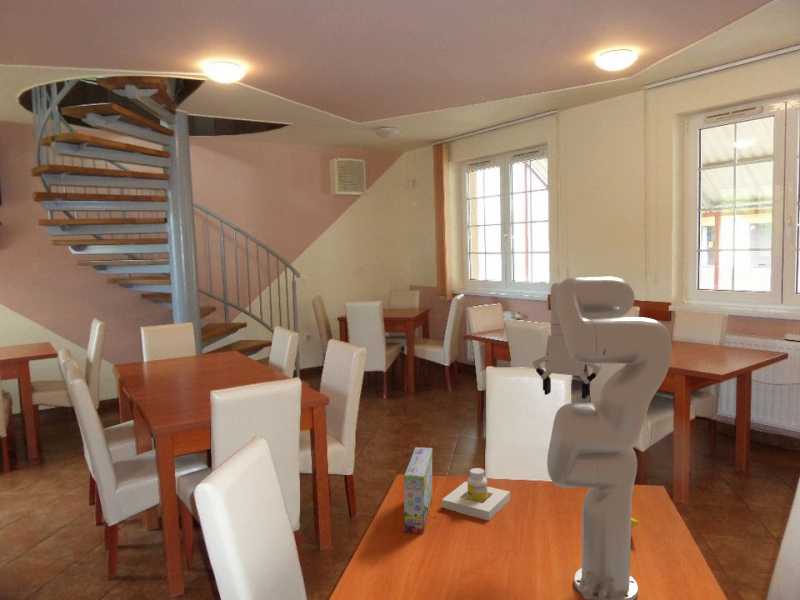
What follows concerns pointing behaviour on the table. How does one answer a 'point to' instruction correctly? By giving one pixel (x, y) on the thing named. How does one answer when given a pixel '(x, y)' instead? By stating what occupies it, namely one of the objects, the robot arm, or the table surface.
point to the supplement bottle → (477, 486)
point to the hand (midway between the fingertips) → (565, 395)
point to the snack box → (418, 490)
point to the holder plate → (480, 510)
